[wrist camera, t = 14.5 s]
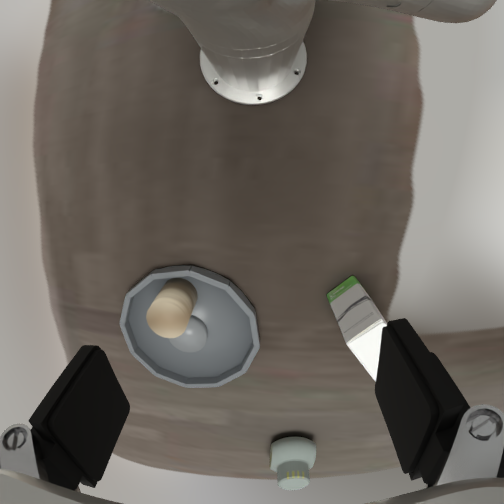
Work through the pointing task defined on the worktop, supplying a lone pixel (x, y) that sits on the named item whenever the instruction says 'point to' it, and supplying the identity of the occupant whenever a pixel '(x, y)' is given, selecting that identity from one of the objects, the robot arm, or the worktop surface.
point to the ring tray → (194, 330)
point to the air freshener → (292, 461)
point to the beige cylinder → (172, 308)
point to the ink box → (358, 322)
